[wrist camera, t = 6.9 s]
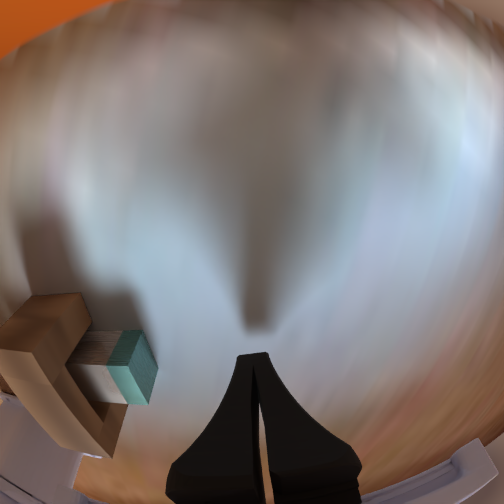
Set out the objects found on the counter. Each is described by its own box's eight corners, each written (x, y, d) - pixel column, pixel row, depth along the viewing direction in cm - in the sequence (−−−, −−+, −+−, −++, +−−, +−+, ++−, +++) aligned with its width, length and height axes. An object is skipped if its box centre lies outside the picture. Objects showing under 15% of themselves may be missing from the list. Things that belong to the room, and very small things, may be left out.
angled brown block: (83, 393, 15) (60, 446, 11) (31, 296, 12) (-16, 346, 8) (130, 397, 15) (112, 458, 11) (80, 292, 12) (31, 352, 8)
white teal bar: (37, 362, 14) (20, 387, 12) (19, 330, 13) (-2, 354, 11) (158, 368, 14) (148, 404, 12) (142, 329, 13) (127, 366, 11)
